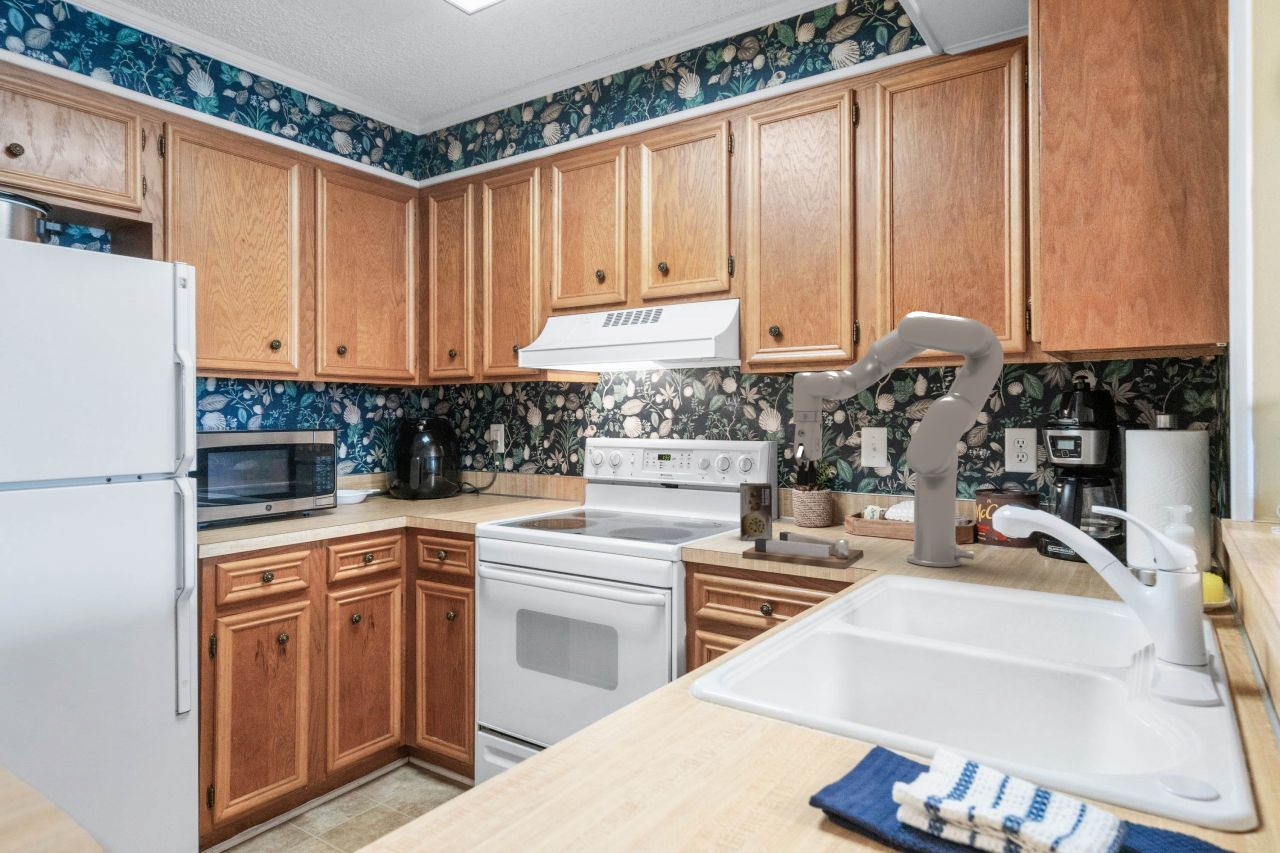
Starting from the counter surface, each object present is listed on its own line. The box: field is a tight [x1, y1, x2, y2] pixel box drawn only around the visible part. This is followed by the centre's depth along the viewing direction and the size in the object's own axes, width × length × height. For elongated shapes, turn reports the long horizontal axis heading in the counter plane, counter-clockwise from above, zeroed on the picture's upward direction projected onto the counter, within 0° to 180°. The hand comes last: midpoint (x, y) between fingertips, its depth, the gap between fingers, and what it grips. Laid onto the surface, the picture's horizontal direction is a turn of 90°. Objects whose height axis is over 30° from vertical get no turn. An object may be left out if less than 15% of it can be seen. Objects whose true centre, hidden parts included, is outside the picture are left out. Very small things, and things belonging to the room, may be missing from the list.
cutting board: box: [741, 546, 864, 570], centre depth 191 cm, size 26×18×2 cm
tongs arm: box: [779, 531, 836, 555], centre depth 193 cm, size 19×2×3 cm, turn 35°
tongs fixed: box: [754, 538, 849, 560], centre depth 187 cm, size 23×4×4 cm, turn 60°
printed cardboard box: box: [739, 482, 773, 542], centre depth 217 cm, size 9×6×16 cm
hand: (806, 483), depth 203 cm, fingers open, 5 cm apart
